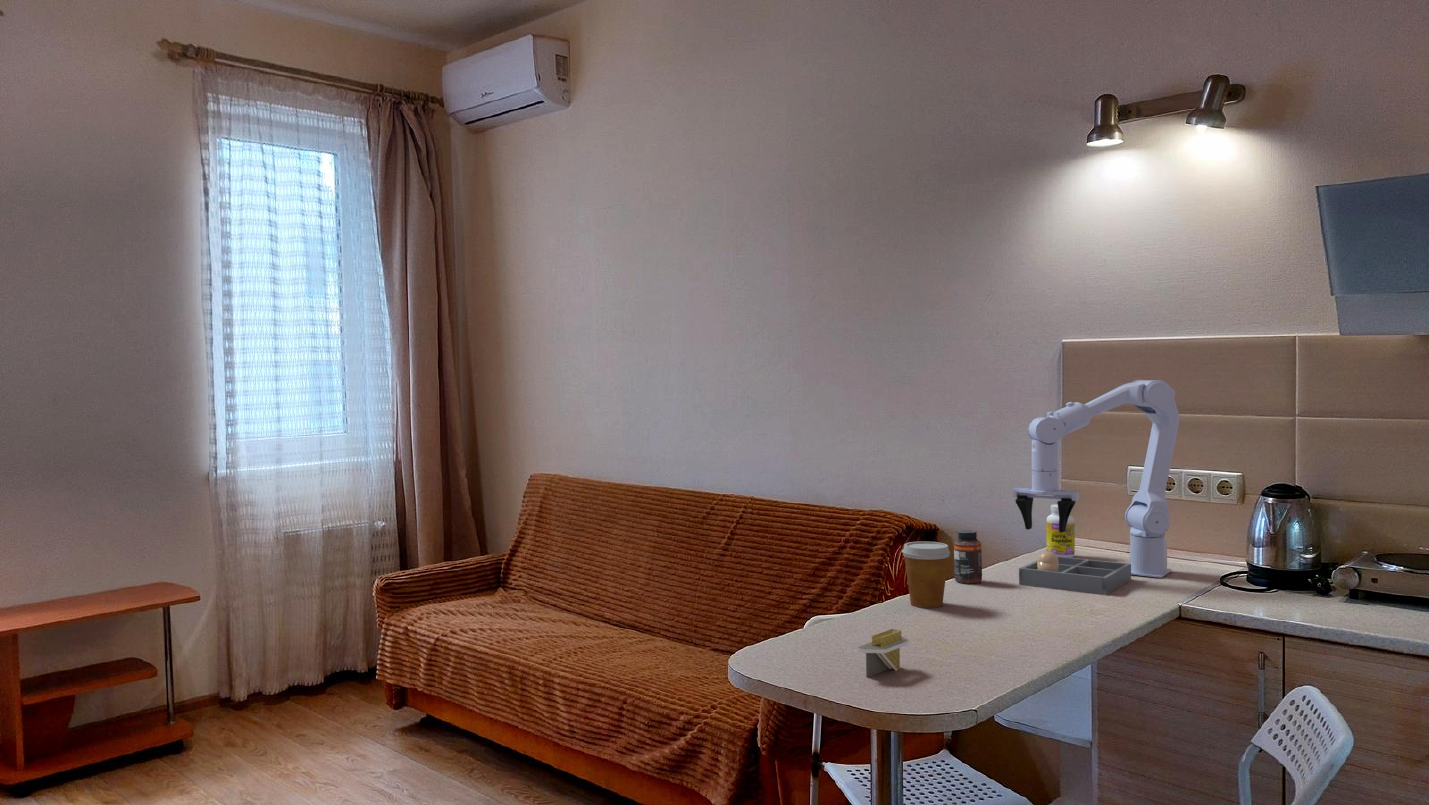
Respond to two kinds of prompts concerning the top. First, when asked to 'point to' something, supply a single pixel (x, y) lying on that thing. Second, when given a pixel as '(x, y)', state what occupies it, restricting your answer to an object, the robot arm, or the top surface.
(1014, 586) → the top surface
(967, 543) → the supplement bottle
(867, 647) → the platform
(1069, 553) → the supplement bottle
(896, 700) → the top surface
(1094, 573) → the grey compartment tray
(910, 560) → the disposable coffee cup
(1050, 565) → the beige rounded peg
